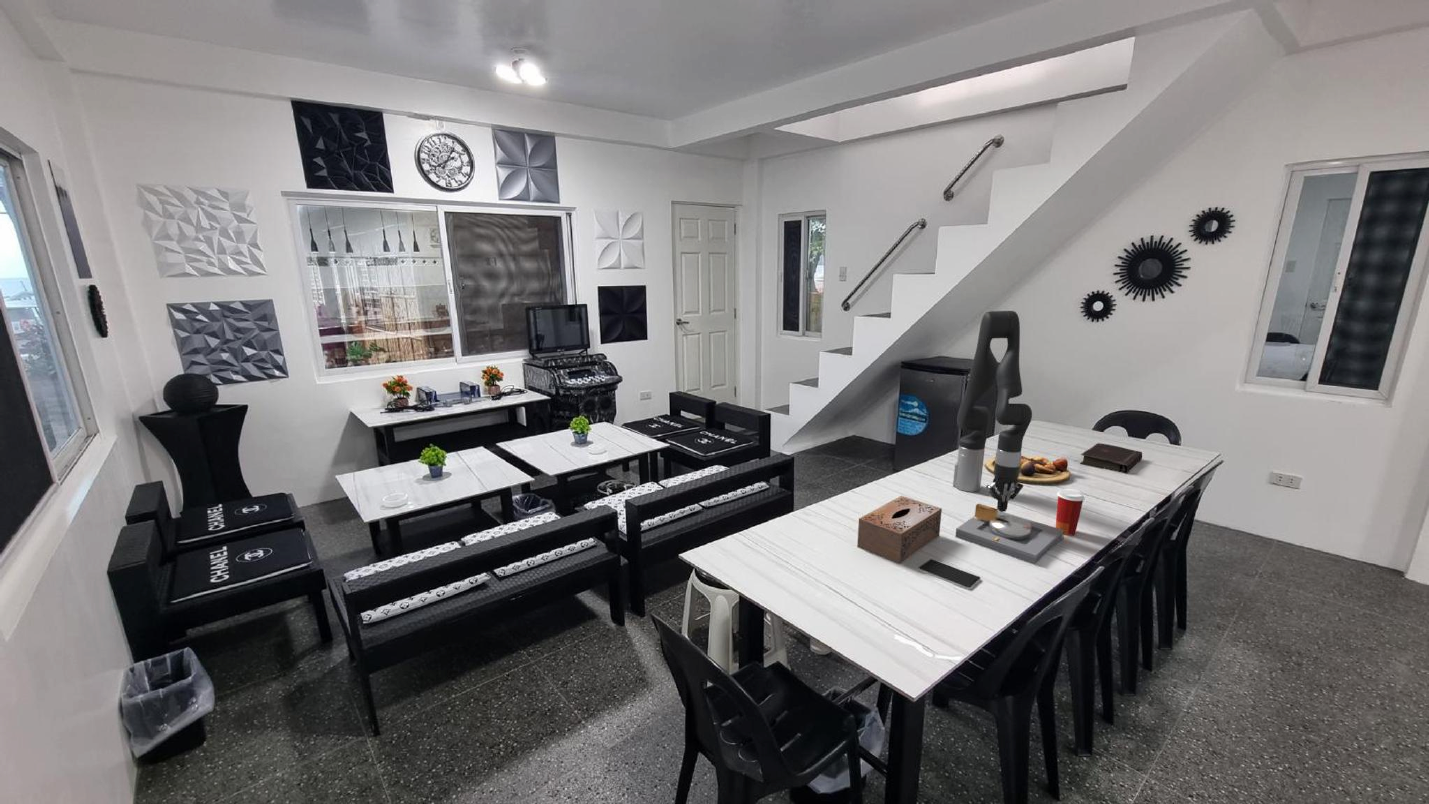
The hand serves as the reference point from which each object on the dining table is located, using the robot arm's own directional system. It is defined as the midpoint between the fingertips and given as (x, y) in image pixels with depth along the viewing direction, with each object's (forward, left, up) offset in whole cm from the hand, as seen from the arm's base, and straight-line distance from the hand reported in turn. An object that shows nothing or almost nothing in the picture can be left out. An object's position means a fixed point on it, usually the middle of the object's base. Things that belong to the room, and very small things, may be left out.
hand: (1001, 510), depth 191 cm
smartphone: (+3, -43, -6) cm, 43 cm away
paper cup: (+16, +11, -6) cm, 21 cm away
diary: (+7, +100, -6) cm, 101 cm away
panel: (+5, -7, -6) cm, 10 cm away
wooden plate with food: (-14, +61, -6) cm, 63 cm away
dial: (+3, -7, -3) cm, 8 cm away
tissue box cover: (-18, -35, -6) cm, 40 cm away
